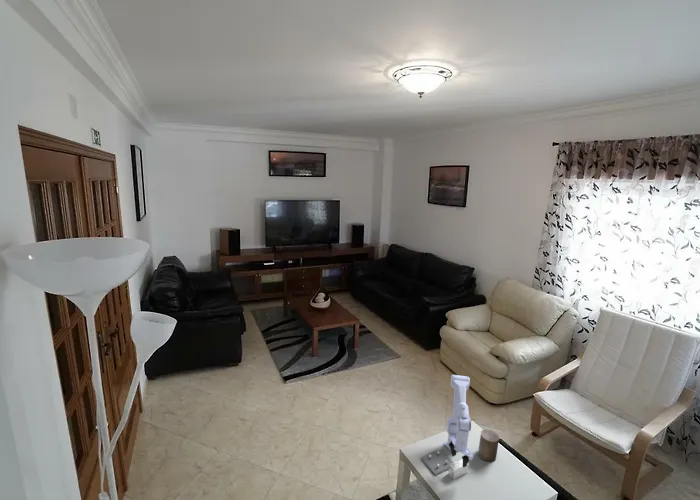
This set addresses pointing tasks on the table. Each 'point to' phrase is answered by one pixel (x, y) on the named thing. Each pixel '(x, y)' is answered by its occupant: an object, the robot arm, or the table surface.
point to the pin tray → (437, 461)
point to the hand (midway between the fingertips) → (459, 460)
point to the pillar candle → (488, 445)
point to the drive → (457, 469)
